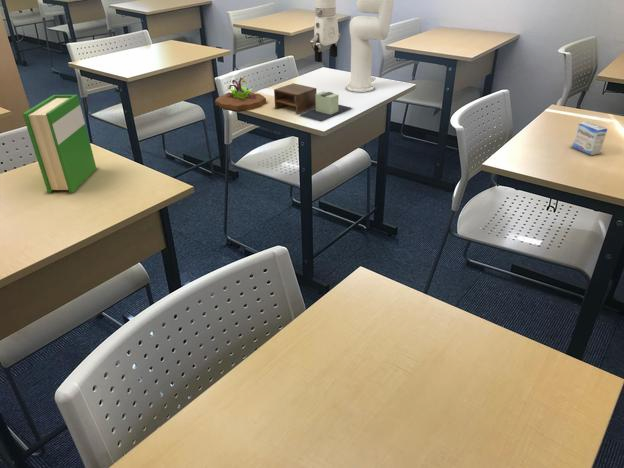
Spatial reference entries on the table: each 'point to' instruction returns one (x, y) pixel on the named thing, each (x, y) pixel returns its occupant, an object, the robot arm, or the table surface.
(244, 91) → the plant
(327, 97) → the green square container
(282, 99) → the shelf
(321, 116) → the desk pad
